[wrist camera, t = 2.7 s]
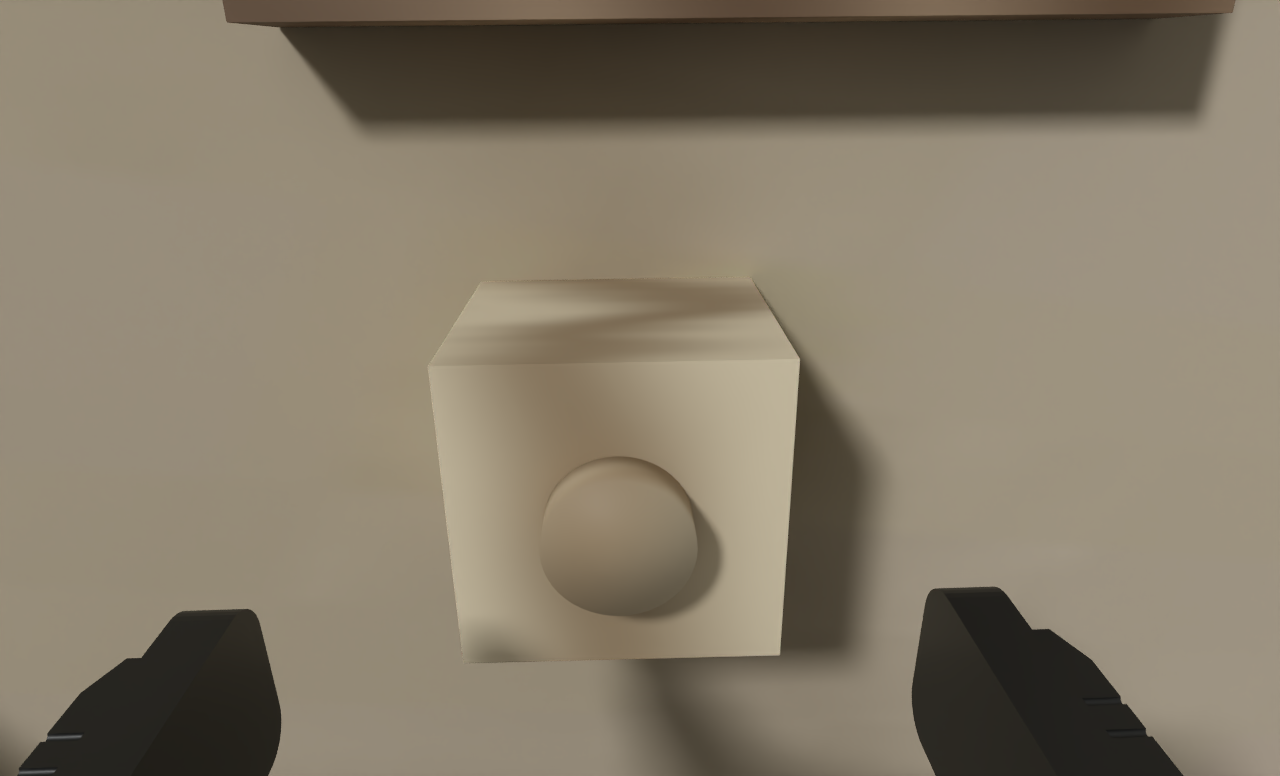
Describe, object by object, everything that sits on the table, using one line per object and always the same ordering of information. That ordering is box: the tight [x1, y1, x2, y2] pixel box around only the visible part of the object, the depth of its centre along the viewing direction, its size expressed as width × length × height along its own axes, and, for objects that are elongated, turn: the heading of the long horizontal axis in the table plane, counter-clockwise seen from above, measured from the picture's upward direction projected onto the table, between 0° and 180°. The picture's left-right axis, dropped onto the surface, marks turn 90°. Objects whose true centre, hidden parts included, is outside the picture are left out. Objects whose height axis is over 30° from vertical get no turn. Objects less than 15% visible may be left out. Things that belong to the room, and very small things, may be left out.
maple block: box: [428, 277, 800, 663], centre depth 15 cm, size 6×6×6 cm
